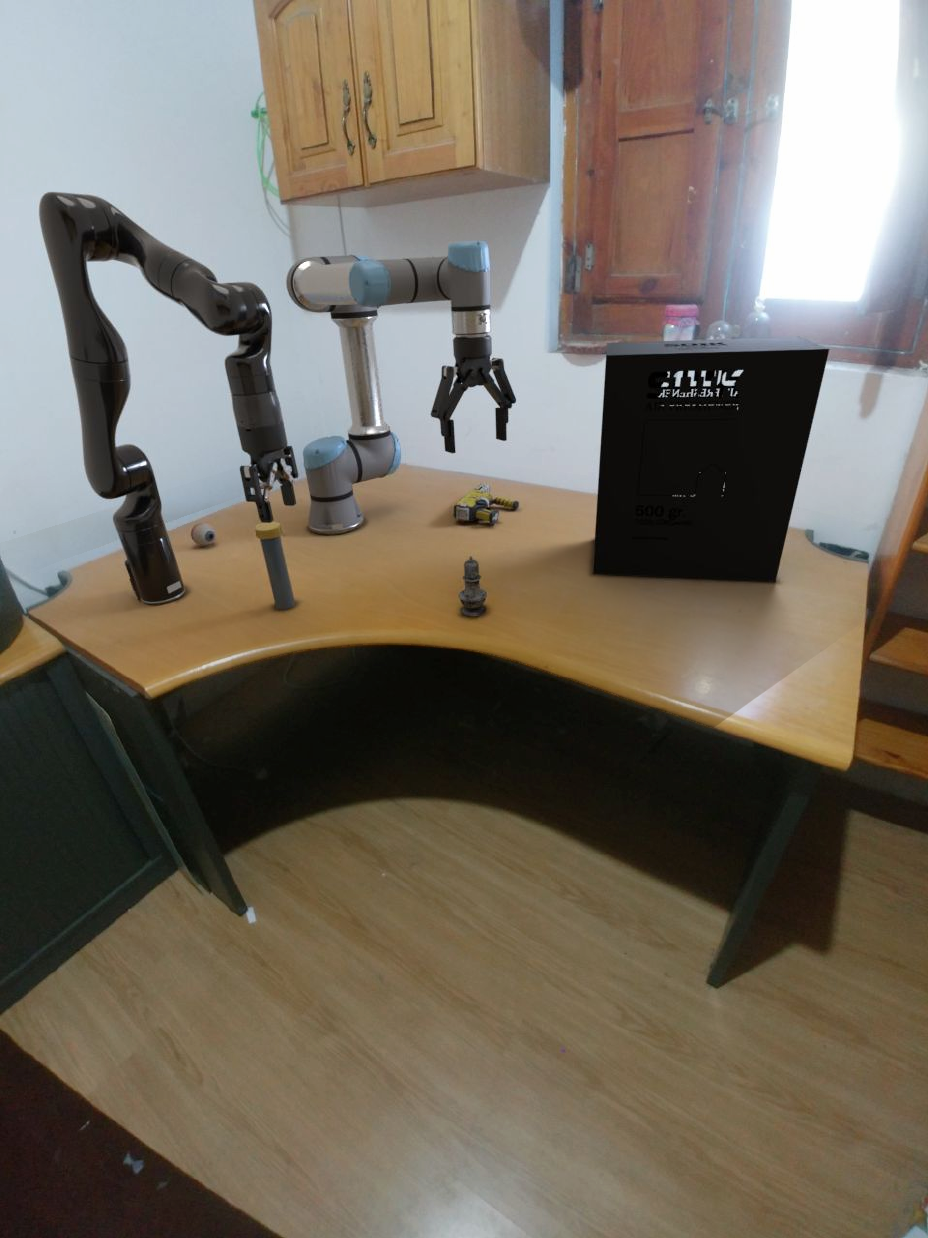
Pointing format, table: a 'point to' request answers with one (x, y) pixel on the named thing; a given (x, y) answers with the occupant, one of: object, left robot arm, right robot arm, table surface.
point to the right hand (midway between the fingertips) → (476, 445)
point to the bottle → (278, 572)
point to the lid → (268, 530)
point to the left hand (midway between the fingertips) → (279, 513)
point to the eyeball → (203, 534)
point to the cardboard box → (703, 455)
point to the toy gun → (480, 505)
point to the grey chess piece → (472, 590)
